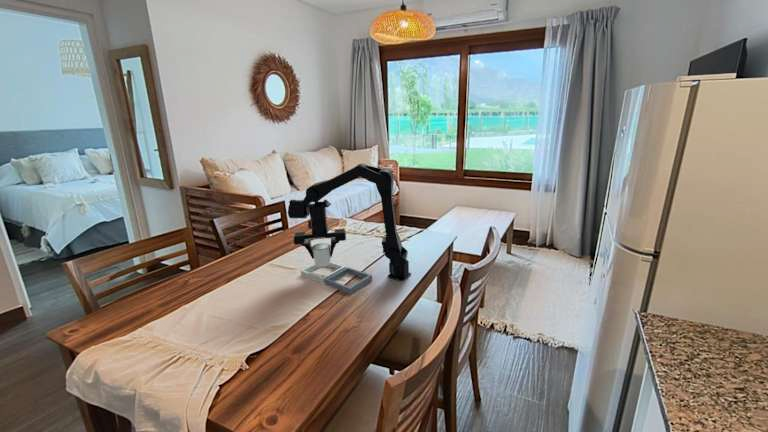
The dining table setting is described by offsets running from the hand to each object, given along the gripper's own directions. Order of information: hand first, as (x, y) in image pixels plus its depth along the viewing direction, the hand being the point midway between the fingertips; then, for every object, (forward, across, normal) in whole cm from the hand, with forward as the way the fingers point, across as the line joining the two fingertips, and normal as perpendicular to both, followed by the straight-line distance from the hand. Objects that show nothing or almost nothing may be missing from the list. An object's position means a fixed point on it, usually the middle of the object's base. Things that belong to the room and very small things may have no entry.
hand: (322, 257), depth 130 cm
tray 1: (+6, 0, 0) cm, 6 cm away
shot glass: (+3, 0, 0) cm, 3 cm away
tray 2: (+6, -9, +9) cm, 15 cm away
